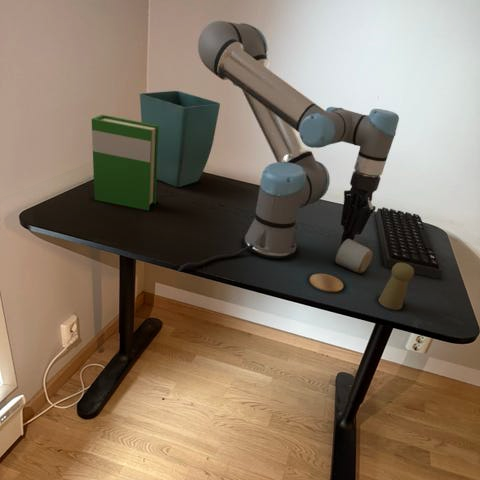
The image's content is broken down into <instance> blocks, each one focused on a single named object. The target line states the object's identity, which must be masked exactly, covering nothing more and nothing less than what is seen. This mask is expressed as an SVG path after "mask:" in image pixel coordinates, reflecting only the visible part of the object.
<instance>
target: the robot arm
mask: <svg viewBox="0 0 480 480" xmlns="http://www.w3.org/2000/svg"><path fill="white" fill-rule="evenodd" d="M200 32H201V33H200V34H199V37H198V41H197V50H198V55H199V58H200V60H201V62H202V63H203V65H204V66H205V67H206V68H207V69H208V70H209V71H211V73H213V74H214V75H215V76H216V77H218V78H219V79H221V80H222V81H227V80H229V81H230V82H231V83H232V85H233V86H235V87H238V88H239V89H241V91H242V92H243V96H244V97H245V100H246V101H247V104H248V106H249V107H250V110H251V111H252V114H253V116H254V117H255V120H256V122H257V124H258V126H259V128H260V130H261V132H262V134H263V136H264V139H265V140H266V142H267V144H268V147H269V148H270V151H271V153H272V155H273V158H274V159H275V161H276V162H272V163H270V164H268V165H267V166H265V167H264V168H263V171H262V174H261V178H260V183H259V190H258V196H257V202H256V208H255V214H254V219H253V221H252V222H251V224H250V226H249V228H248V230H247V232H246V233H245V236H244V239H243V240H244V241H243V245H244V247H243V248H242V249H241V250H238V251H235V252H233V253H227V254H218V255H214V256H211V257H208V258H206V259H204V260H202V261H198V262H187V263H185V264H182V265H181V266H180V267H179V268H178V269H177V272H182V271H183V270H184V269H186V268H188V267H200V266H202V265H205V264H208V263H210V262H213V261H215V260H218V259H219V260H220V259H225V258H233V257H238V256H240V255H241V254H243V253H245V252H246V251H249V252H250V253H252V254H254V255H256V256H258V257H261V258H265V259H271V260H285V259H290V258H291V257H293V256H294V255H296V249H297V234H296V229H295V227H296V221H297V218H298V214H299V209H301V208H304V207H306V206H308V205H313V204H315V203H316V202H318V201H319V200H321V199H322V198H323V197H325V195H326V193H327V192H328V190H329V187H330V184H331V183H330V182H331V177H330V173H329V171H328V168H327V167H326V165H324V163H322V162H320V161H318V160H317V159H316V158H315V156H314V154H313V152H312V150H311V149H308V148H313V149H315V148H317V149H320V148H324V147H327V146H330V145H334V144H338V143H341V142H343V143H346V144H349V145H354V146H356V147H359V150H358V153H357V156H356V159H355V163H354V166H353V169H354V171H352V174H351V177H350V181H349V184H350V186H351V187H350V189H349V190H344V191H343V198H344V199H343V205H342V212H341V217H340V219H341V220H340V226H342V227H343V228H342V229H343V231H342V232H343V233H342V236H341V242H340V245H339V248H340V247H341V245H342V243H343V242H344V241H345V240H347V239H351V240H353V241H354V240H355V236H356V235H361V234H362V232H363V230H364V228H365V227H366V226H367V223H368V221H369V219H370V217H371V215H372V214H373V213H374V212H375V211H376V208H377V207H376V206H375V205H373V204H372V201H373V193H374V192H376V191H377V190H378V189H379V185H380V182H381V180H382V178H381V176H382V175H383V172H384V169H385V165H386V164H387V163H386V162H387V160H388V157H389V153H390V150H391V148H392V145H393V142H394V139H395V136H396V134H397V129H398V124H399V121H400V117H399V115H398V114H397V113H396V112H395V111H391V110H386V109H382V108H372V109H371V110H370V111H369V114H362V113H358V112H356V111H351V110H348V109H344V108H343V107H335V106H328V107H327V108H326V109H323V108H322V107H321V106H320V105H318V104H317V103H315V102H314V101H313V100H311V99H310V98H309V97H308V96H306V95H305V94H303V93H301V91H299V90H298V89H296V88H295V87H294V86H292V85H291V84H290V83H289V82H287V81H286V80H285V79H283V78H281V77H280V76H279V75H277V74H276V73H275V72H273V71H272V70H271V69H270V68H269V64H270V61H269V59H268V49H269V48H268V43H267V40H266V37H265V35H264V34H263V32H262V31H261V30H260V29H259V28H257V27H256V26H254V25H251V24H249V23H244V22H240V23H237V22H231V21H225V20H215V21H212V22H211V23H208V24H207V25H206V26H205V27H204V28H203V29H202V31H200ZM297 132H298V133H299V136H298V133H297ZM302 143H303V144H304V145H303V144H302ZM304 146H306V147H308V148H305V147H304ZM161 400H162V401H165V400H166V398H165V397H163V398H161Z"/></svg>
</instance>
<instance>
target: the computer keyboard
mask: <svg viewBox="0 0 480 480" xmlns="http://www.w3.org/2000/svg"><path fill="white" fill-rule="evenodd" d="M375 218H376V225H377V229H378V235H379V243H380V247H381V254H382V258H383V259H382V260H383V265H384V267H385V268H388V269H392V268H393V266H394V265H395V264H396V263H406V264H408V265H410V266H412V267H413V269H414V274H415V275H421V276H425V277H429V278H434V279H438V280H439V279H440V276H441V274H442V272H443V269H442V267H441V264H440V262H439V259H438V257H437V254H436V252H435V250H434V247H433V245H432V242H431V240H430V236H429V235H428V232H427V230H426V227H425V225H424V222H423V220H422V217H421V216H420V215H419V214H416V213H411V212H407V211H405V212H404V211H402V210H399V209H398V210H396V209H392V208H390V209H389V208H387V207H385V206H382V208H380V207H377V210H376V213H375Z"/></svg>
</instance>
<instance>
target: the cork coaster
mask: <svg viewBox="0 0 480 480" xmlns="http://www.w3.org/2000/svg"><path fill="white" fill-rule="evenodd" d="M309 283H310V284H311V285H312V286H313V287H314V288H316V289H317V290H320V291H323V292H326V293H338V292H339V293H340V291H342V290H343V289H344V283H343V281H342V280H340V279H339V278H337V277H336V276H333V275H331V274H327V273H314V274H312V275H310V277H309Z"/></svg>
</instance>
